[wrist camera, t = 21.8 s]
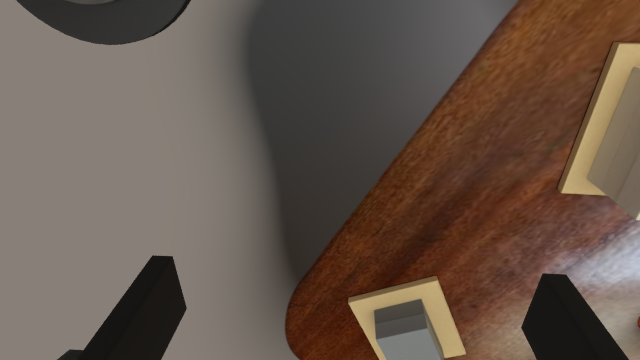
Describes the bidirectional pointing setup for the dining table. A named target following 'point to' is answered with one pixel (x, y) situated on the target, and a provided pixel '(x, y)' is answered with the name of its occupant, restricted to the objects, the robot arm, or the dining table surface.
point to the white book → (631, 191)
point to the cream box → (608, 129)
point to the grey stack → (408, 322)
